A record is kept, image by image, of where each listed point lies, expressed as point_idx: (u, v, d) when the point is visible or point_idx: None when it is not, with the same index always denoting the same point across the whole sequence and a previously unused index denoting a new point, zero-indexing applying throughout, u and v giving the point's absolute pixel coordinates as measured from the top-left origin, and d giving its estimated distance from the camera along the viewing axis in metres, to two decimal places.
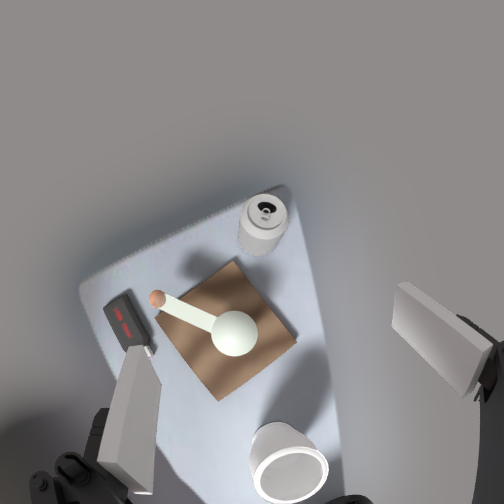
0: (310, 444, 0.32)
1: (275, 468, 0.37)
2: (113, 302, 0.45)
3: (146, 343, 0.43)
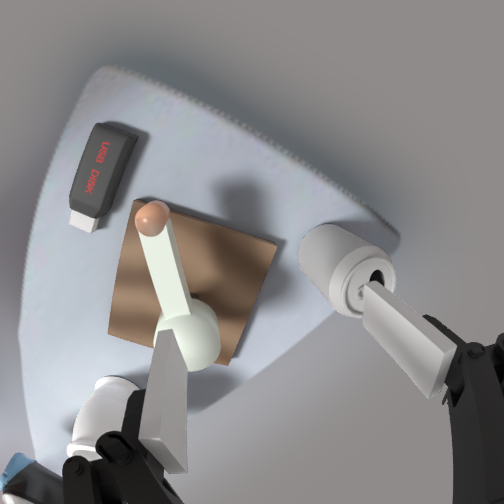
0: None
1: None
2: (112, 132, 0.25)
3: (98, 216, 0.27)
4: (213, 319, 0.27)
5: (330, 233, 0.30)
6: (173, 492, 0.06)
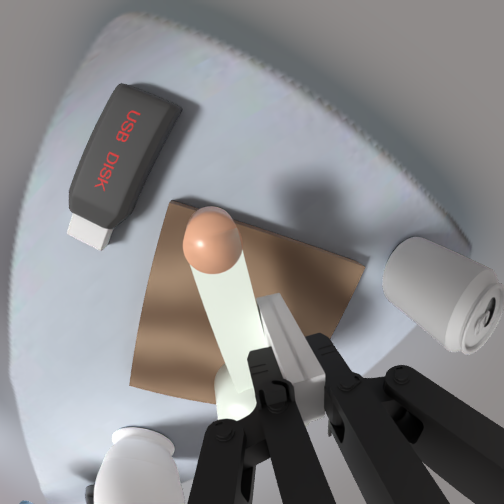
0: None
1: None
2: (145, 97, 0.16)
3: (113, 226, 0.18)
4: None
5: (430, 250, 0.21)
6: None
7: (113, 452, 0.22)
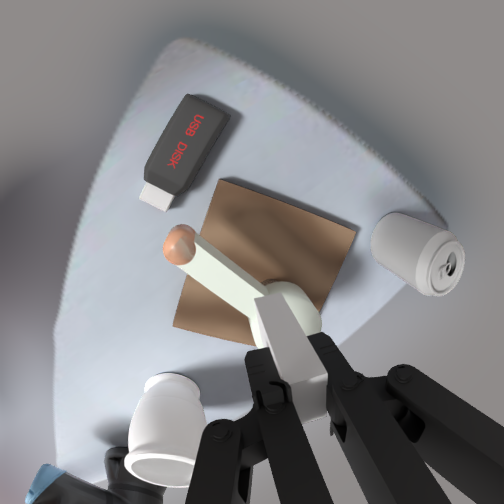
0: None
1: None
2: (207, 106, 0.25)
3: (178, 194, 0.27)
4: (296, 291, 0.26)
5: (405, 220, 0.29)
6: None
7: (149, 393, 0.31)
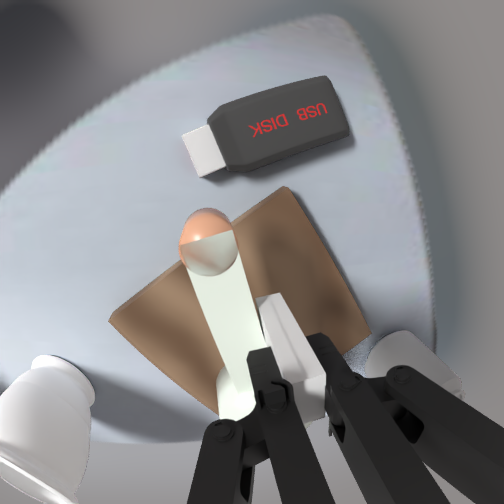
0: None
1: None
2: (338, 105, 0.18)
3: (232, 169, 0.18)
4: None
5: (422, 346, 0.24)
6: None
7: (36, 377, 0.18)
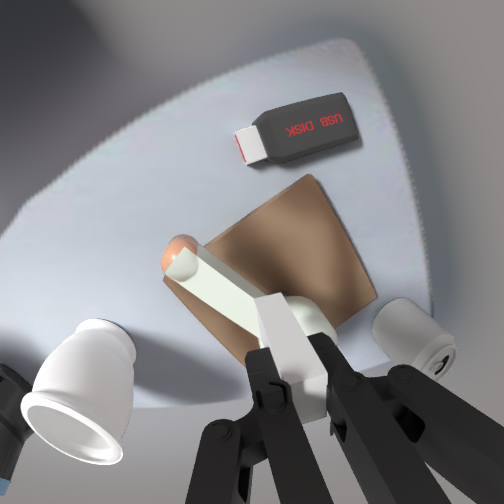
0: None
1: None
2: (350, 116, 0.24)
3: (272, 160, 0.25)
4: (310, 307, 0.23)
5: (420, 310, 0.30)
6: None
7: (88, 335, 0.25)
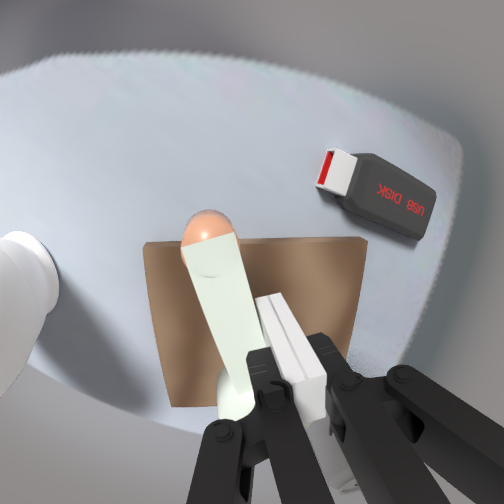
0: None
1: None
2: (429, 216, 0.22)
3: (347, 202, 0.21)
4: None
5: None
6: None
7: (15, 252, 0.15)
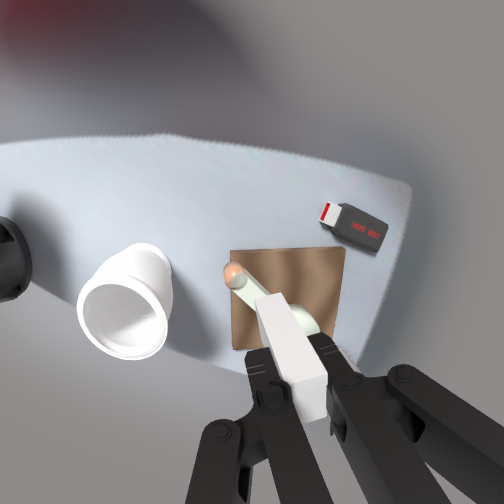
0: (142, 341, 0.31)
1: None
2: (382, 239, 0.43)
3: (334, 230, 0.41)
4: (305, 311, 0.37)
5: (352, 361, 0.47)
6: None
7: (157, 256, 0.35)
